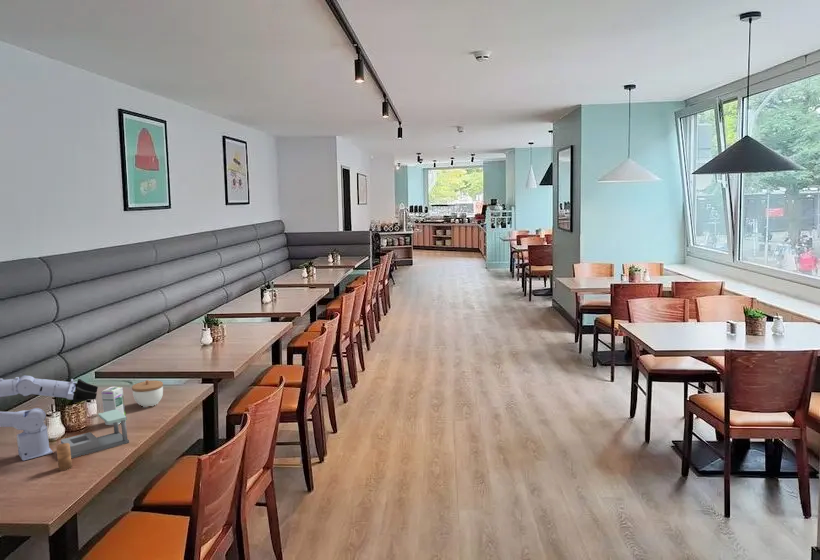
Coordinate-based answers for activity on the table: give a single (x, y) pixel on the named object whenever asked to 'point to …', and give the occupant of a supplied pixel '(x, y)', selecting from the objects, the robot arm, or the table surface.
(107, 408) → the syrup box
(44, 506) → the table surface
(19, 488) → the table surface
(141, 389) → the lidded bowl
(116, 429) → the socket stand
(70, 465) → the peg
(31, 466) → the table surface
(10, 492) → the table surface
